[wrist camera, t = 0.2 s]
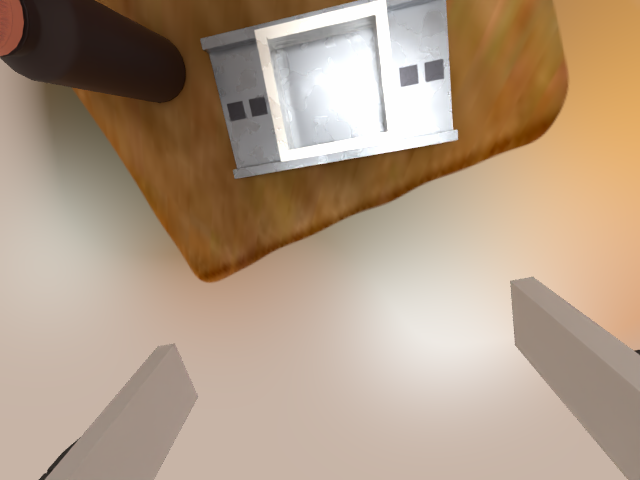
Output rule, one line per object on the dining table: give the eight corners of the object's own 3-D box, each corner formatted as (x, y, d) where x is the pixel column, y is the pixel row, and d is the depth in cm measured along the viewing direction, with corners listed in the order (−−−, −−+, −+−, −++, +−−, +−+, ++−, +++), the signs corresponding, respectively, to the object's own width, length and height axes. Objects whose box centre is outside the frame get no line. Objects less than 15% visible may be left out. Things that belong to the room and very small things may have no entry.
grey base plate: (210, 45, 35) (190, 32, 30) (442, -10, 31) (456, -33, 27) (242, 176, 39) (228, 181, 34) (450, 139, 35) (464, 140, 31)
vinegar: (197, 60, 35) (17, -30, 16) (170, 115, 37) (-17, 93, 18) (142, 20, 34) (-112, -122, 16) (118, 79, 37) (-133, 16, 18)
